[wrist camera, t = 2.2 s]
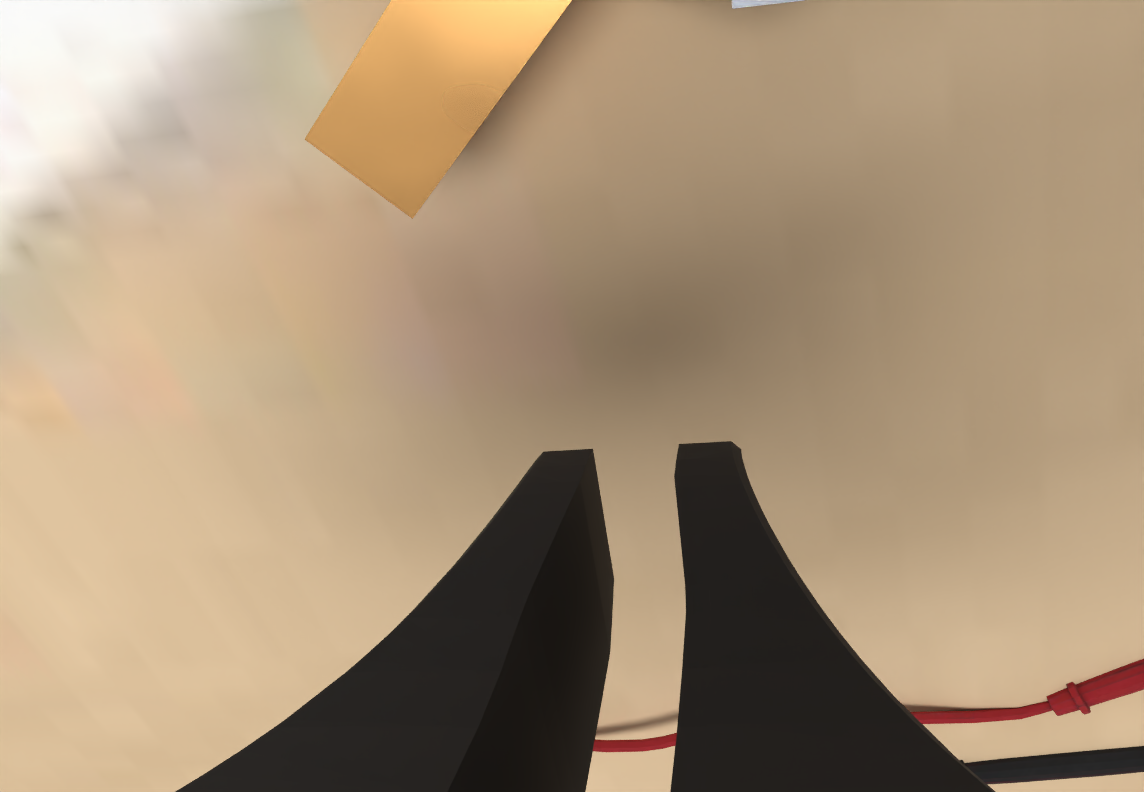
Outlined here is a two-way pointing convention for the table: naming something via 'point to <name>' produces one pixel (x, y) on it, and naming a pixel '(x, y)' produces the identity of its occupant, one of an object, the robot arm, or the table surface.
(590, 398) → the table surface
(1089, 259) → the table surface
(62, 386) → the table surface
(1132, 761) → the digital clamp meter
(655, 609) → the table surface
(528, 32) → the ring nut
